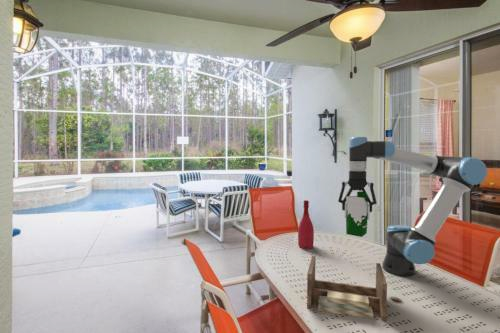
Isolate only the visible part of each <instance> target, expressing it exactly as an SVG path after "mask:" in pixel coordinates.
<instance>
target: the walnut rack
mask: <svg viewBox="0 0 500 333" xmlns="http://www.w3.org/2000/svg"><path fill="white" fill-rule="evenodd" d="M375 265H376V266H375V287H370V286H365V285H357V284H349V283H343V282H342V283H341V282H336V281H335V282H334V281H329V280H321V279H320V280H319V279H316V255H312V256H311V258H310V263H309V267H308V270H307V278H306V279H307V280H306V281H307V283H306V286H307V287H306V289H307V290H306V307H307V309H312V304H313V301H314V302H318V300H319V296H327V294H328V291H332V292H339V293H345V294H352V295H359V296H365V297H368V301H369V306H371V308H372V311H375V312H379V316H380V320H381V321H382V322H387V300H388V298H387V295H388V283H387V280H386V277H385V274H384V271H383V267H382V265H381V263H380V262H379V263H377V262H376V263H375Z"/></svg>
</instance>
